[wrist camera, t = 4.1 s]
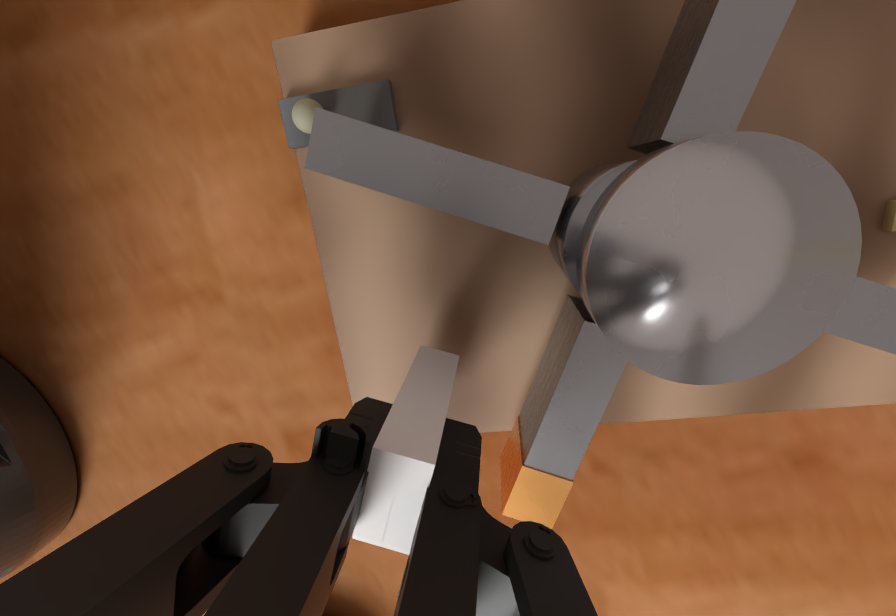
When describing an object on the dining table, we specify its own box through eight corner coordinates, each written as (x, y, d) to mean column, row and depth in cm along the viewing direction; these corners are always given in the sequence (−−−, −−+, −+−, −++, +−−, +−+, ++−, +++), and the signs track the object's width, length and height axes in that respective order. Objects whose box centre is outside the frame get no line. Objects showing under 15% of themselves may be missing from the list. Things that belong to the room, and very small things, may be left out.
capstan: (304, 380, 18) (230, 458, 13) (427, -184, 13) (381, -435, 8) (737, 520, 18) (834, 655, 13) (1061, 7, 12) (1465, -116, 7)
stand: (372, 417, 21) (349, 463, 18) (295, 56, 17) (245, 24, 14) (888, 377, 18) (979, 423, 15) (949, -77, 14) (1098, -162, 11)
